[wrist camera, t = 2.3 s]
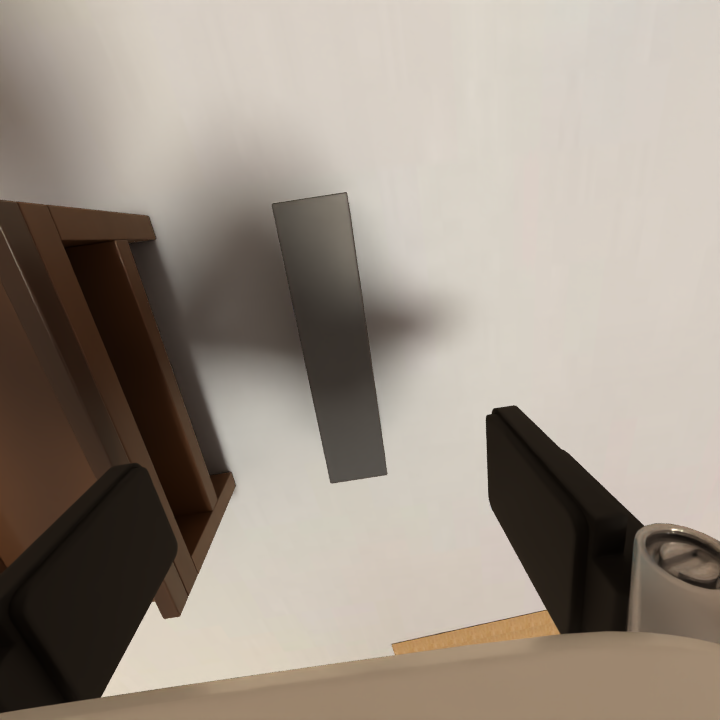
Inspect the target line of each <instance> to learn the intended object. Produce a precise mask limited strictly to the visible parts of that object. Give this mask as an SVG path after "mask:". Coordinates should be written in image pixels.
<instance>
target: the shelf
mask: <svg viewBox="0 0 720 720" xmlns="http://www.w3.org/2000/svg"><path fill="white" fill-rule="evenodd" d="M155 239H156V238H155V234H154V231H153V228H152V225H151V222H150V219H149V216H146V215H137V214H128V213H118V212H109V211H100V210H91V209H82V208H73V207H63V206H54V205H44V204H35V203H26V202H14V201H7V200H0V574H1V573H2V572H3V571H4V570H6V569H7V568H8V567H9V566H10V565H11V564H12V563H13V562H14V561H15V560H16V559H17V558H18V557H19V556H20V555H21V554H22V553H23V552H24V551H25V550H26V549H27V548H28V547H29V546H30V545H31V544H32V543H33V542H34V541H35V540H36V539H37V538H38V537H39V536H41V535H42V534H43V533H44V532H45V531H46V530H47V529H48V528H49V527H50V526H51V525H52V524H53V523H54V522H55V521H56V520H57V519H58V518H59V517H60V516H61V515H62V514H63V513H64V512H65V511H66V510H67V509H68V508H69V507H70V506H71V505H72V504H73V503H75V502H76V501H77V500H78V499H79V498H80V497H81V496H82V495H83V494H84V493H85V492H86V491H87V490H88V489H89V488H90V487H91V486H92V485H93V484H94V483H95V482H96V481H97V480H98V479H99V478H100V477H101V476H102V475H103V474H104V473H105V472H106V471H107V470H108V469H110V468H111V467H112V466H117V465H123V464H130V463H138V464H140V465H141V466H142V467H145V468H146V469H147V470H148V472H149V474H150V477H151V479H152V482H153V484H154V487H155V489H156V491H157V494H158V496H159V499H160V501H161V504H162V506H163V508H164V511H165V513H166V516H167V518H168V521H169V523H170V525H171V528H172V530H173V533H174V535H175V538H176V540H177V543H178V551H177V555H176V557H175V559H174V561H173V563H172V565H171V567H170V569H169V571H168V572H167V574H166V576H165V578H164V580H163V582H162V584H161V586H160V587H159V589H158V591H157V593H156V595H155V597H154V599H153V601H152V602H154V601H155V602H156V604H157V606H158V608H159V611H160V613H161V615H162V617H163V618H164V619H167V618H174V617H179V616H180V615H181V613H182V611H183V608H184V606H185V604H186V601H187V599H188V596H189V594H190V592H191V589H192V587H193V585H194V582H195V580H196V578H197V575H198V574H199V571H200V569H201V567H202V564H203V562H204V560H205V557H206V555H207V552H208V550H209V548H210V545H211V543H212V541H213V538H214V536H215V534H216V531H217V529H218V527H219V524H220V522H221V520H222V517H223V515H224V512H225V510H226V508H227V505H228V503H229V501H230V498H231V496H232V494H233V491H234V489H235V487H236V485H235V482H234V479H233V476H232V473H231V472H228V473H221V474H215V475H209V473H208V470H207V467H206V464H205V462H204V459H203V456H202V453H201V450H200V447H199V444H198V442H197V439H196V436H195V433H194V430H193V427H192V424H191V421H190V419H189V416H188V413H187V410H186V407H185V404H184V401H183V399H182V396H181V393H180V390H179V387H178V384H177V381H176V379H175V376H174V373H173V370H172V367H171V364H170V361H169V358H168V356H167V353H166V350H165V347H164V344H163V341H162V338H161V336H160V333H159V330H158V327H157V324H156V321H155V318H154V316H153V313H152V310H151V307H150V304H149V301H148V298H147V295H146V293H145V290H144V287H143V284H142V281H141V278H140V275H139V273H138V270H137V267H136V264H135V261H134V258H133V255H132V253H131V250H130V247H129V243H135V242H142V241H148V240H155Z"/></svg>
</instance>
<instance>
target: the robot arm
mask: <svg viewBox="0 0 720 720" xmlns="http://www.w3.org/2000/svg"><path fill="white" fill-rule="evenodd" d="M486 439H487V469H488V496H489V502H490V505H491V508H492V510H493V512H494V514H495V516H496V517H497V519H498V521H499V523H500V525H501V527H502V528H503V530H504V532H505V534H506V536H507V538H508V539H509V541H510V543H511V545H512V547H513V549H514V550H515V552H516V554H517V556H518V558H519V560H520V561H521V563H522V565H523V567H524V569H525V571H526V572H527V574H528V576H529V578H530V580H531V582H532V583H533V585H534V587H535V589H536V591H537V593H538V594H539V596H540V598H541V600H542V602H543V604H544V605H545V607H546V609H547V611H548V613H549V615H550V616H551V618H552V620H553V622H554V624H555V626H556V627H557V629H558V631H559V633H560V634H558V635H549V636H541V637H532V638H524V639H516V640H507V641H499V642H490V643H482V644H473V645H465V646H458V647H451V648H443V649H436V650H429V651H422V652H414V653H407V654H400V655H393V656H386V657H378V658H371V659H364V660H357V661H349V662H342V663H335V664H328V665H321V666H314V667H307V668H300V669H293V670H286V671H279V672H272V673H265V674H258V675H251V676H244V677H237V678H230V679H223V680H217V681H210V682H203V683H196V684H189V685H182V686H175V687H168V688H162V689H155V690H148V691H142V692H135V693H128V694H122V695H115V696H109V697H102V698H101V696H102V694H103V692H104V690H105V689H106V687H107V685H108V683H109V681H110V679H111V677H112V675H113V674H114V672H115V670H116V668H117V666H118V664H119V662H120V660H121V659H122V657H123V655H124V653H125V651H126V649H127V647H128V645H129V644H130V642H131V640H132V638H133V636H134V634H135V632H136V631H137V629H138V627H139V625H140V623H141V621H142V619H143V617H144V616H145V614H146V612H147V610H148V608H149V606H150V604H151V602H152V601H153V599H154V597H155V595H156V593H157V591H158V589H159V587H160V586H161V584H162V582H163V580H164V578H165V576H166V574H167V572H168V571H169V569H170V567H171V565H172V563H173V561H174V559H175V557H176V555H177V551H178V543H177V540H176V538H175V535H174V533H173V530H172V528H171V525H170V523H169V521H168V518H167V516H166V513H165V511H164V508H163V506H162V504H161V501H160V499H159V496H158V494H157V491H156V489H155V487H154V484H153V482H152V479H151V477H150V474H149V472H148V470H147V469H146V468H145V467H142V466H141V465H140V464H138V463H130V464H123V465H117V466H112V467H111V468H110V469H108V470H107V471H106V472H105V473H104V474H103V475H102V476H101V477H100V478H99V479H98V480H97V481H96V482H95V483H94V484H93V485H92V486H91V487H90V488H89V489H88V490H87V491H86V492H85V493H84V494H83V495H82V496H81V497H80V498H79V499H78V500H77V501H76V502H75V503H73V504H72V505H71V506H70V507H69V508H68V509H67V510H66V511H65V512H64V513H63V514H62V515H61V516H60V517H59V518H58V519H57V520H56V521H55V522H54V523H53V524H52V525H51V526H50V527H49V528H48V529H47V530H46V531H45V532H44V533H43V534H42V535H41V536H39V537H38V538H37V539H36V540H35V541H34V542H33V543H32V544H31V545H30V546H29V547H28V548H27V549H26V550H25V551H24V552H23V553H22V554H21V555H20V556H19V557H18V558H17V559H16V560H15V561H14V562H13V563H12V564H11V565H10V566H9V567H8V568H7V569H6V570H4V571H3V572H2V573H1V574H0V720H720V541H718V540H716V539H714V538H712V537H710V536H708V535H706V534H704V533H702V532H699V531H696V530H693V529H691V528H688V527H684V526H679V525H674V524H662V523H655V524H651V525H646V526H644V525H643V524H642V523H641V522H640V521H639V520H638V519H637V518H635V517H634V516H633V515H632V514H631V513H630V512H629V511H628V510H627V509H626V508H625V507H624V506H623V505H622V504H621V503H620V502H619V501H618V500H617V499H616V498H615V497H614V496H612V495H611V494H610V493H609V492H608V491H607V490H606V489H605V488H604V487H603V486H602V485H601V484H600V483H599V482H598V481H597V480H596V479H595V478H594V477H593V476H592V475H590V474H589V473H588V472H587V471H586V470H585V469H584V468H583V467H582V466H581V465H580V464H579V463H578V462H577V461H576V460H575V459H574V458H573V457H572V456H571V455H570V454H569V453H567V452H566V451H564V450H561V449H560V448H559V447H558V446H557V445H556V444H555V443H554V442H553V441H552V440H551V439H550V438H549V437H548V436H547V435H546V434H545V433H544V432H543V431H542V430H541V429H540V428H539V427H538V426H537V425H536V424H535V423H534V422H533V421H532V420H530V419H529V418H528V417H527V416H526V415H525V414H524V413H523V412H522V411H521V410H520V409H519V408H518V407H517V406H507V407H501V408H494V409H493V410H492V414H490V415H487V416H486Z"/></svg>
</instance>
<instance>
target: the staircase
mask: <svg viewBox="0 0 720 720" xmlns="http://www.w3.org/2000/svg"><path fill="white" fill-rule="evenodd" d="M558 634H560V633H559V631H558V629H557V627H556V626H555V624H554V622H553V620H552V618H551V616H550V615H549V613H548V611H547V610H546V611H541V612H537V613H532V614H528V615H523V616H519V617H514V618H510V619H505V620H501V621H496V622H492V623H487V624H482V625H478V626H473V627H469V628H464V629H460V630H455V631H451V632H446V633H442V634H437V635H433V636H428V637H423V638H419V639H414V640H410V641H405V642H401V643H396V644H392V647H393V650H394V653H395V655H400V654H407V653H414V652H422V651H429V650H436V649H443V648H451V647H458V646H465V645H473V644H482V643H490V642H499V641H507V640H516V639H524V638H532V637H541V636H549V635H558Z"/></svg>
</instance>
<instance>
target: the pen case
mask: <svg viewBox="0 0 720 720" xmlns="http://www.w3.org/2000/svg"><path fill="white" fill-rule="evenodd" d="M272 209H273V213H274V218H275V223H276V227H277V232H278V237H279V242H280V246H281V251H282V256H283V261H284V265H285V270H286V275H287V280H288V284H289V289H290V294H291V299H292V303H293V308H294V313H295V317H296V322H297V327H298V332H299V336H300V341H301V346H302V351H303V355H304V360H305V365H306V370H307V374H308V379H309V384H310V388H311V393H312V398H313V403H314V407H315V412H316V417H317V422H318V426H319V431H320V436H321V441H322V445H323V450H324V455H325V459H326V464H327V469H328V474H329V478H330V483H338V482H344V481H351V480H357V479H364V478H370V477H377V476H383V475H387V468H386V461H385V453H384V446H383V439H382V432H381V425H380V418H379V411H378V404H377V397H376V390H375V383H374V376H373V369H372V362H371V355H370V348H369V341H368V334H367V327H366V320H365V313H364V306H363V299H362V292H361V285H360V278H359V271H358V264H357V257H356V250H355V243H354V236H353V229H352V222H351V215H350V208H349V203H348V196H347V192H344V193H338V194H331V195H325V196H318V197H312V198H305V199H299V200H292V201H286V202H279V203H273V204H272Z"/></svg>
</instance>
